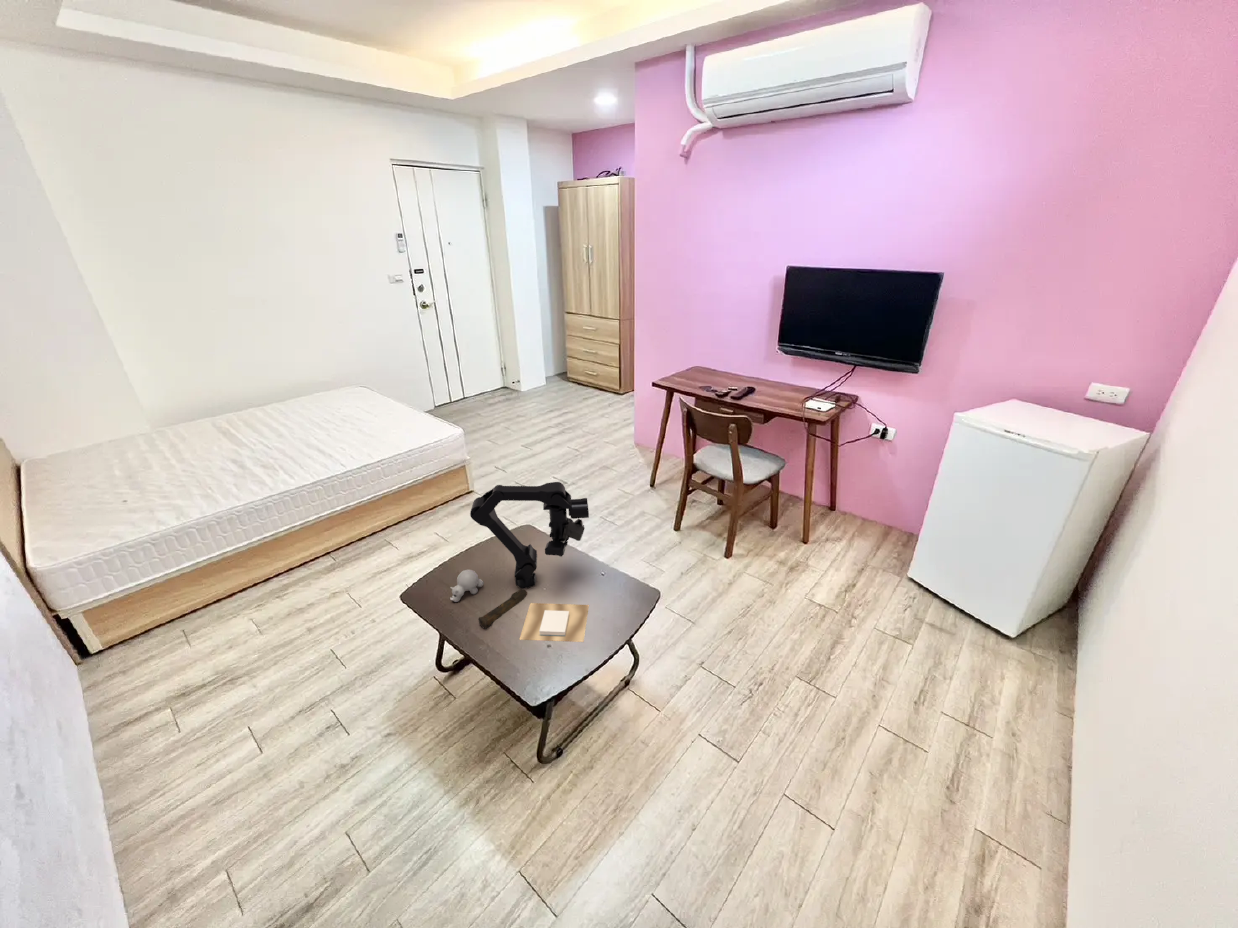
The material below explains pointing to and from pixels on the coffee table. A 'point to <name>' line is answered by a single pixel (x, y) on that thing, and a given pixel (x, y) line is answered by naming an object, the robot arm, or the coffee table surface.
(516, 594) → the hand tool
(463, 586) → the chubby cartoon animal
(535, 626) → the board
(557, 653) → the coffee table surface
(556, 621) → the tile
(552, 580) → the coffee table surface
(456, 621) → the coffee table surface
